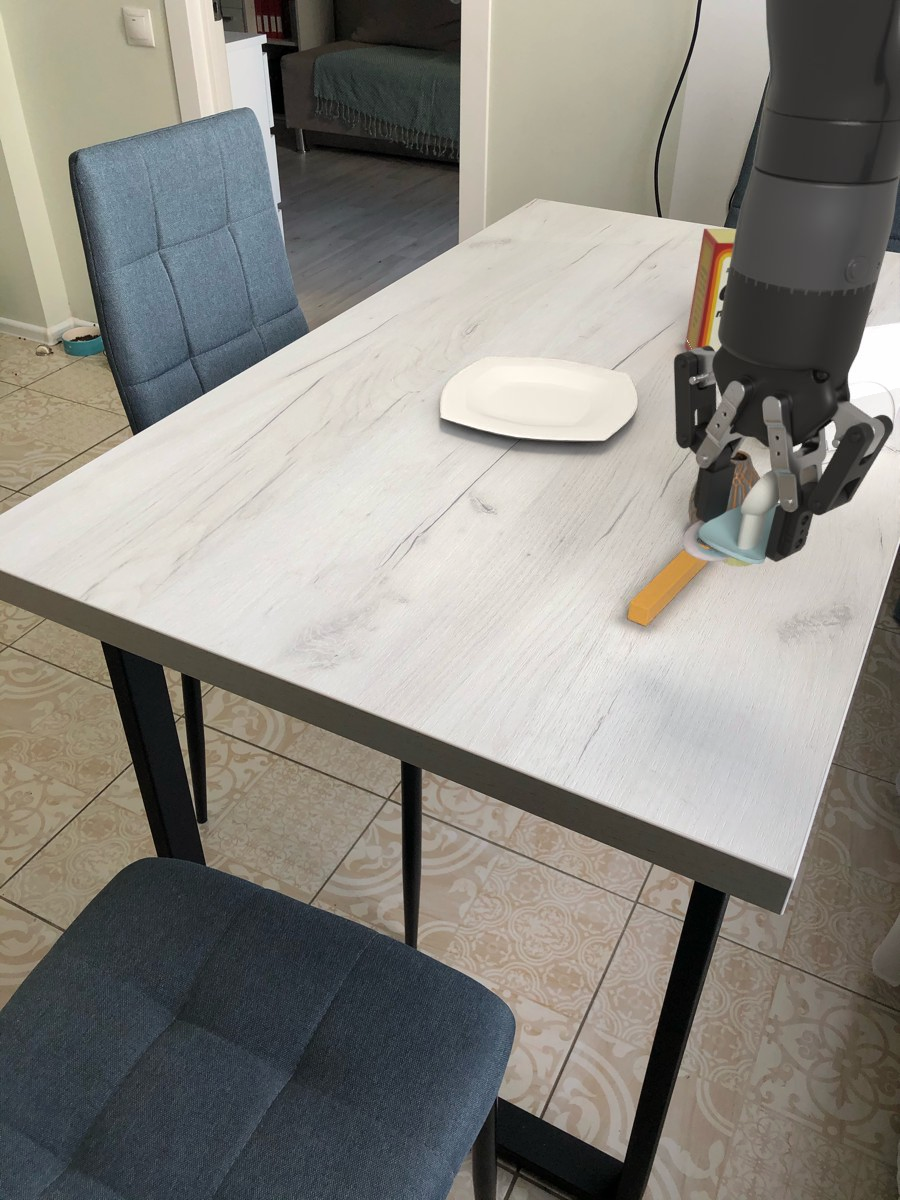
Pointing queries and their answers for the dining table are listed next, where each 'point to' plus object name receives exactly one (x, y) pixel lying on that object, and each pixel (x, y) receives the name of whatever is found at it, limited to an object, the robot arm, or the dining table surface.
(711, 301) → the baking soda box
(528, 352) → the dining table surface
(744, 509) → the pacifier
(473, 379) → the plate
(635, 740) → the dining table surface
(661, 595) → the wooden stick
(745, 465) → the vase
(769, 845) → the dining table surface
